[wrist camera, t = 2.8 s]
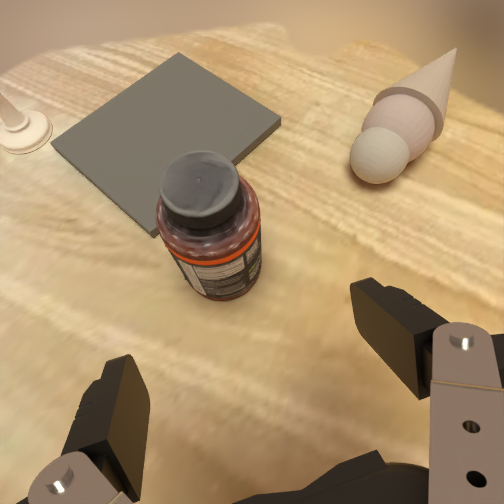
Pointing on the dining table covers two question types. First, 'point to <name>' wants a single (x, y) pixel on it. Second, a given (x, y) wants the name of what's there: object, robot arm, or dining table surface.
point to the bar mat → (162, 133)
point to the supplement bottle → (210, 223)
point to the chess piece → (22, 128)
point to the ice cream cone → (403, 122)
